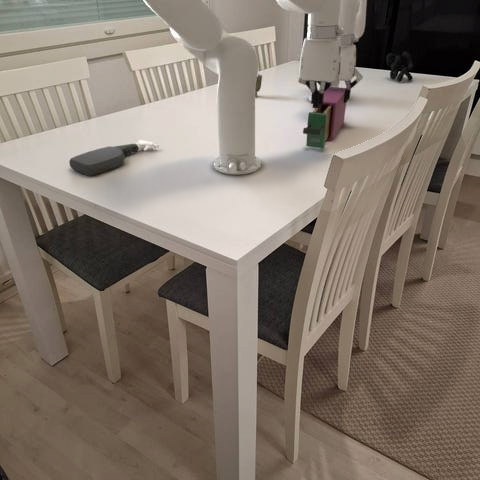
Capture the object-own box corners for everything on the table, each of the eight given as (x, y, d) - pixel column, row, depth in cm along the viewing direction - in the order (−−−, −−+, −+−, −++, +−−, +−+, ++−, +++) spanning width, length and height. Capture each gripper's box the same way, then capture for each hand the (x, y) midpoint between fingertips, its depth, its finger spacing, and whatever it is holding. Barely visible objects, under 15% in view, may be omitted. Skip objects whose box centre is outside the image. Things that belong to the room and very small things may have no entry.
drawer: (318, 155, 123) (321, 121, 118) (300, 152, 125) (303, 119, 120) (335, 130, 141) (338, 99, 135) (319, 128, 142) (322, 97, 137)
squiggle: (400, 92, 202) (376, 71, 205) (417, 76, 202) (392, 56, 205) (405, 81, 191) (380, 59, 194) (423, 64, 191) (397, 42, 194)
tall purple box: (332, 140, 135) (336, 102, 129) (312, 138, 137) (314, 100, 131) (343, 123, 149) (347, 88, 143) (325, 121, 151) (328, 86, 145)
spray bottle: (67, 168, 120) (139, 144, 136) (91, 178, 114) (163, 151, 130) (65, 157, 118) (137, 134, 134) (89, 167, 112) (162, 142, 128)
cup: (240, 97, 179) (240, 76, 175) (248, 93, 185) (248, 72, 181) (257, 99, 176) (257, 78, 172) (265, 94, 182) (265, 74, 178)
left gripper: (355, 31, 111) (347, 105, 121) (297, 30, 116) (294, 101, 126) (349, 36, 106) (341, 113, 115) (289, 33, 110) (286, 108, 120)
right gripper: (371, 39, 134) (364, 100, 143) (315, 37, 140) (311, 96, 149) (368, 43, 128) (360, 106, 137) (309, 41, 134) (305, 101, 143)
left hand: (316, 106), depth 121 cm, fingers closed
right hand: (334, 100), depth 143 cm, fingers closed on tall purple box, 6 cm apart
